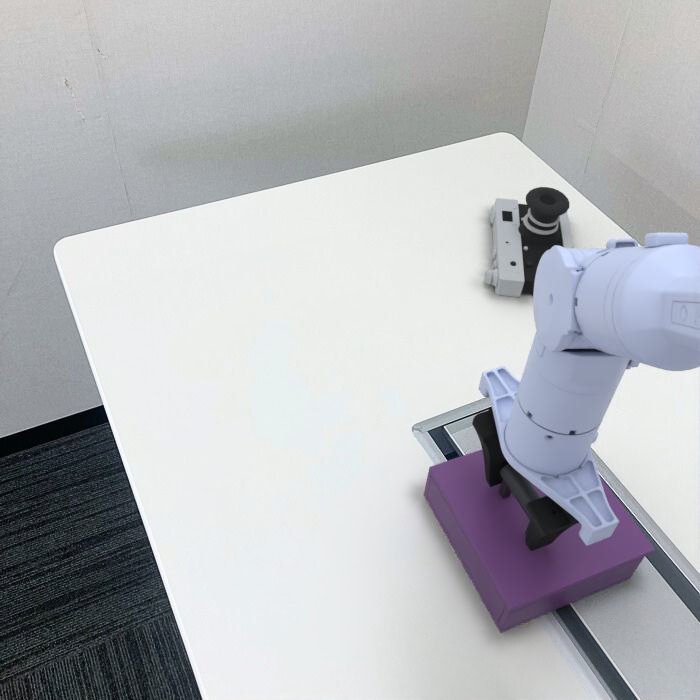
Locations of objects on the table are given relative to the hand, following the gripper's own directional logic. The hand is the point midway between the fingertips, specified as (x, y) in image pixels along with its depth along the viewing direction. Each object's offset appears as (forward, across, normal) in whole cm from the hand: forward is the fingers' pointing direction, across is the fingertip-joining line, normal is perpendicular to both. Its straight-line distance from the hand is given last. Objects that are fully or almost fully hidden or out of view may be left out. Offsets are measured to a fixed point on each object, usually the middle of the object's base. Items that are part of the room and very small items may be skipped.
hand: (518, 510), depth 59 cm
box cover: (+1, 0, -2) cm, 2 cm away
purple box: (+5, 0, -2) cm, 5 cm away
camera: (+5, +32, -22) cm, 39 cm away
